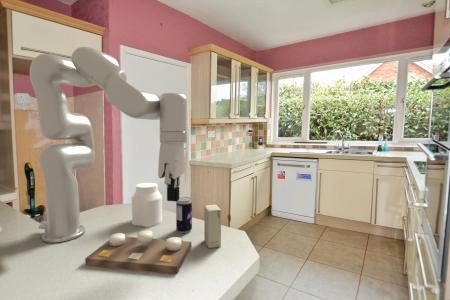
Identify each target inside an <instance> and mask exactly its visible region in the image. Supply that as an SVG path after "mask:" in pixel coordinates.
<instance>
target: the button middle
mask: <svg viewBox="0 0 450 300" xmlns="http://www.w3.org/2000/svg"><path fill="white" fill-rule="evenodd" d="M153 235H154V234H153V231H152V230H149V229H148V230H141V231H139V232H138V233H137V234H136V236H137V241H138V242H139V243H148V242H151V241H152V240H153V239H154V236H153Z"/></svg>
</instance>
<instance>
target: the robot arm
mask: <svg viewBox="0 0 450 300" xmlns="http://www.w3.org/2000/svg"><path fill="white" fill-rule="evenodd" d="M127 77H128V76H127V73H126V71H125V70H124V69H123V68H122V67H120V65H119V63H118V61H117V60H116V58H114V56H112V55H110V54H108V53H105V52H104V51H101V50H98V49H96V48H92V47H88V46H80V47H77V48H76V49H74V51H73V52H72V53H71V58H67V57H64V56H61V55H58V54H51V53H42V54H38V55H37V56H35V57H34V58H33V60H32V61H31V64H30V67H29V79H30V82H31V86H32V88H33V91H34V94H35V97H36V103H37V104H36V105H37V111H38V118H39V126H40V130H41V134H42V136H43V137H44V138H45V139H47V140H50V141H63V140H64V141H66V140H68V141H69V140H70V142H71V143H56V144H52V145H51V144H50V145H48V146H45V147H44V148H43V149H42V150H41V151H40V153H39V156H38V160H39V165H40V169H41V172H42V177H43V181H44V182H43V183H44V195H45V197H44V198H45V211H46V220H43V221H42V222H41V223H40V224H39V225H38V229H40V230H44V233H43V234H41V240H42V241H43V242H44V243H63V242H67V241H72V240H74V239H76V238H78V237H81V236H82V235H83V234H85V232H86V227H85V226H84V225H82V224H81V219H80V217H81V216H80V214H81V213H80V196H79V195H80V193H79V183H78V180H77V178H76V176H75V175H74V174H73V172H72V171H75V170H81V169H82V170H83V169H86V168H89V167H91V166H92V165H93V164H94V163H95V159H96V148H95V141H94V140H95V139H94V131H93V127H92V123H91V121H90V119H89V118H88V117H87V116H86V115H85V114H82V113H78V112H70V108H69V100H68V98H67V96H66V93H65V91H64V90H63V89H62V88H61V86H60V84H62V85H66V86H72V87H78V88H90V87H93V86H97V87H99V88H100V89H101V90H103V93H104V96H105V98H106V100H107V101H108V102H109V103H110V104H111V105H112V106H113V107H115V108H116V109H117V110H119V111H120V112H121V113H123V114H125V115H126V116H128V117H129V118H132V119H136V120H154V121H157V120H159V143H160V146H159V151H158V152H159V154H158V166H157V167H158V170H157V177H158V178H159V179H163V178H164V182H163V183H164V185H165V186H166V200H167V202H177V201H178V200H179V198H180V183H181V176H182V175H183V174H184V173H185V168H186V161H185V160H186V158H185V155H186V154H185V144H187V141H188V140H187V139H188V137H187V136H188V135H187V133H188V132H187V129H188V128H187V127H188V126H187V125H188V121H187V120H188V115H187V114H188V100H187V99H188V98H187V97H186V95H185V94H183V93H179V92H165V93H162V94H161V95H160V94H155V93H150V92H147V91H143V90H139V89H138V88H135V86H133V85H131V84H130V83H128V82H127Z"/></svg>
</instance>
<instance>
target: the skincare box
mask: <svg viewBox="0 0 450 300" xmlns="http://www.w3.org/2000/svg"><path fill="white" fill-rule="evenodd" d="M203 211H204V212H203V213H204V217H203V218H204V222H203V223H204V238H203V239H204V242H205V244H206V247H207V248H208V249H212V248H219V247H222V233H221V232H222V224H221V223H222V210H221V208H220V206H218V205H217V204H205V205H204V210H203Z"/></svg>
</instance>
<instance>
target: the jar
mask: <svg viewBox="0 0 450 300" xmlns="http://www.w3.org/2000/svg"><path fill="white" fill-rule="evenodd" d="M158 187H159V185H158V183H156V182H141V183H140V182H139V183H137V184H136V185H135V192H134V193H133V195H132V196H131V218H132V219H131V224H132V225H133V226H139V227H144V228H150V227H155V226H157V225H159V224H161V223H162V221H163V201H162V200H163V195H162V194H161V193H160V191H159V189H158Z"/></svg>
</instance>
